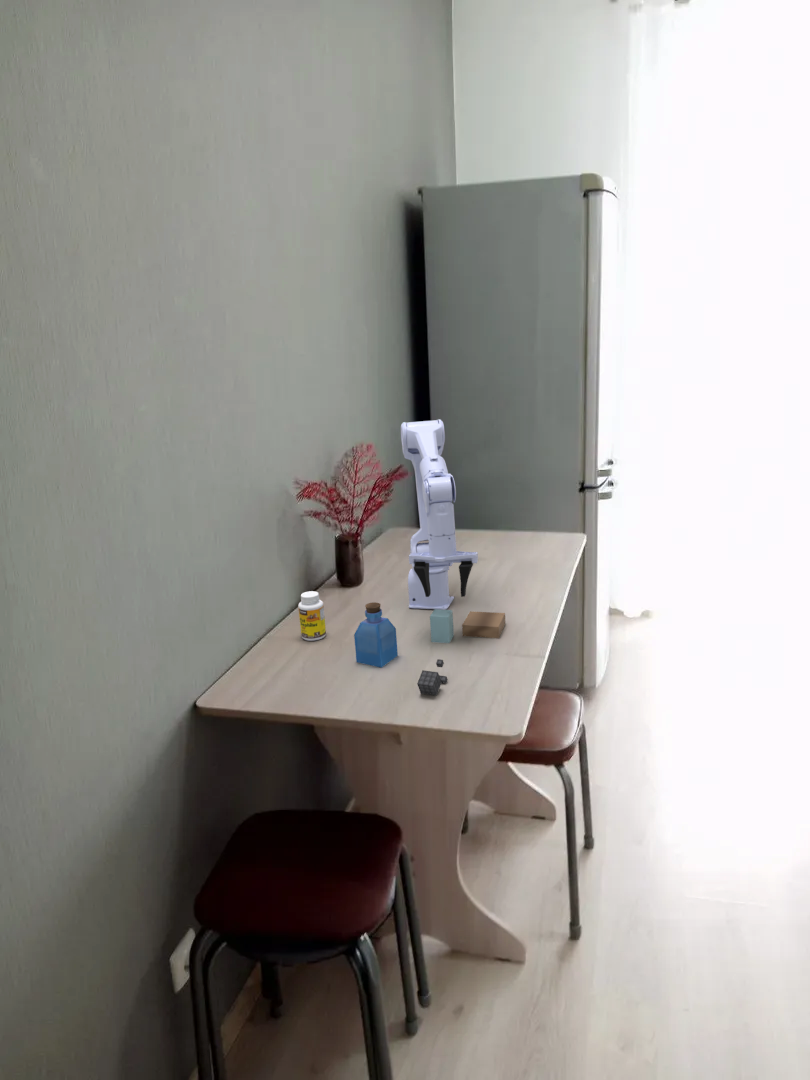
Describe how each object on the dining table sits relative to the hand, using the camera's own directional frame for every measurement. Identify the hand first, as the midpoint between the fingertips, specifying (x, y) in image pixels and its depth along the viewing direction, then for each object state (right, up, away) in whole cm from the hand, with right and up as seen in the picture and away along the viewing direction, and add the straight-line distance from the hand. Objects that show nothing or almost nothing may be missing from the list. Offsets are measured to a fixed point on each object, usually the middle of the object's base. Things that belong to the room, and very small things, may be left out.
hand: (445, 595), depth 174 cm
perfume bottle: (-14, -13, -5) cm, 20 cm away
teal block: (-1, -10, +3) cm, 10 cm away
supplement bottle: (-29, -10, +9) cm, 32 cm away
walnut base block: (+9, -8, +6) cm, 14 cm away
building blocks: (-3, -17, -19) cm, 25 cm away
